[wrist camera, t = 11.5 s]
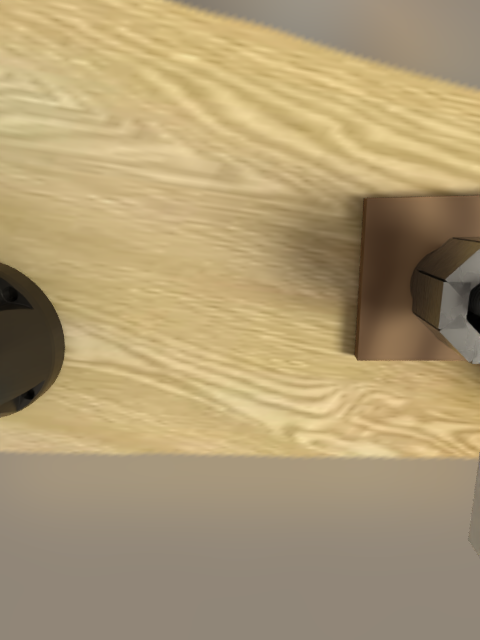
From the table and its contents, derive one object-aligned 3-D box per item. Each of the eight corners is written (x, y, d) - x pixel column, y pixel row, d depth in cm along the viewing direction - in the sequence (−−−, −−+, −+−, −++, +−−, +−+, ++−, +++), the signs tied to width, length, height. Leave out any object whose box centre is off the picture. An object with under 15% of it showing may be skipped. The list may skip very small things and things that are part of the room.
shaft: (406, 317, 35) (465, 360, 25) (413, 247, 34) (477, 263, 23) (478, 316, 35) (566, 360, 25) (488, 246, 33) (586, 262, 23)
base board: (354, 355, 38) (357, 360, 36) (363, 198, 34) (367, 198, 33) (511, 355, 37) (519, 360, 36) (537, 194, 33) (547, 193, 32)
